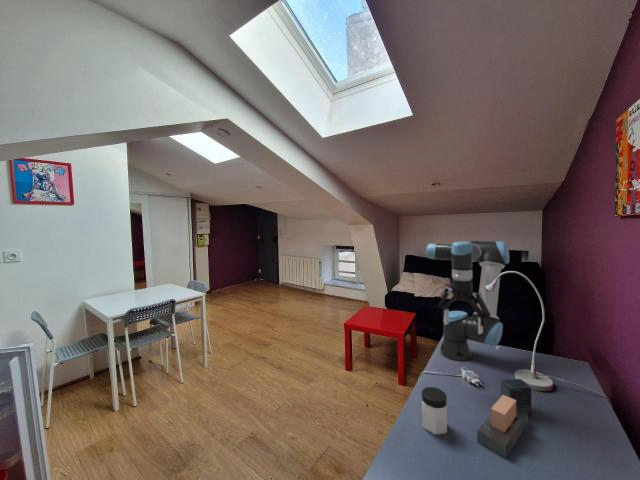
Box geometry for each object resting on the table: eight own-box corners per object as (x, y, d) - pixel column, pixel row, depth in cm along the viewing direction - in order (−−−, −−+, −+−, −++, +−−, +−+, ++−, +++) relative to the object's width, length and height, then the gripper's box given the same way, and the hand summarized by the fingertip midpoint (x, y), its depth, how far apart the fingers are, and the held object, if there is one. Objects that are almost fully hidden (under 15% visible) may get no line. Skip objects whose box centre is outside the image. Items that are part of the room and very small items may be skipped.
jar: (422, 414, 101) (421, 384, 100) (446, 419, 98) (445, 388, 97) (422, 432, 93) (421, 399, 92) (447, 438, 90) (447, 404, 89)
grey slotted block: (502, 411, 101) (502, 401, 101) (527, 423, 95) (528, 412, 94) (477, 442, 88) (477, 430, 87) (505, 458, 81) (505, 446, 81)
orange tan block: (502, 421, 96) (503, 394, 96) (516, 427, 93) (516, 400, 92) (490, 436, 89) (490, 408, 89) (504, 444, 86) (504, 414, 86)
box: (520, 404, 104) (520, 378, 104) (532, 414, 99) (532, 387, 98) (500, 405, 105) (500, 379, 104) (510, 415, 99) (510, 388, 98)
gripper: (429, 276, 118) (430, 323, 120) (493, 285, 99) (493, 340, 100) (437, 273, 123) (438, 318, 124) (499, 281, 104) (499, 334, 105)
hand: (462, 328), depth 112 cm, fingers open, 13 cm apart
